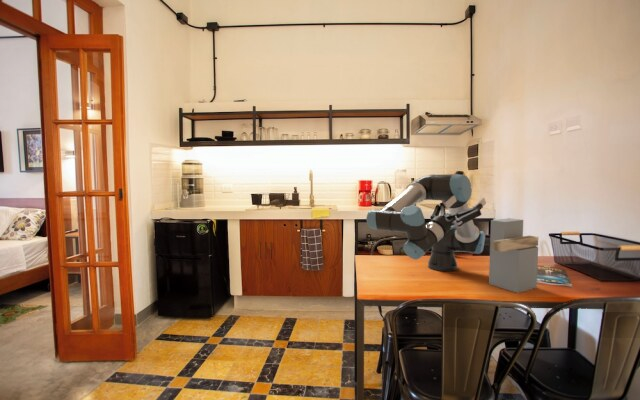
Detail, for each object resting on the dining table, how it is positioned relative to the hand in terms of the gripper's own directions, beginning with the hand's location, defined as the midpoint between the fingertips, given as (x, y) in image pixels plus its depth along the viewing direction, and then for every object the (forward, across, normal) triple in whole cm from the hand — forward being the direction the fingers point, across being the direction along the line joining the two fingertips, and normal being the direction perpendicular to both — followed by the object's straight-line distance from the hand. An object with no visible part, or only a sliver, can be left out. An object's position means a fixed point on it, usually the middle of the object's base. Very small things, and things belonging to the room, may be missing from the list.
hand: (469, 199), depth 133 cm
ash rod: (+12, -4, +33) cm, 35 cm away
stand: (+6, 0, +51) cm, 51 cm away
